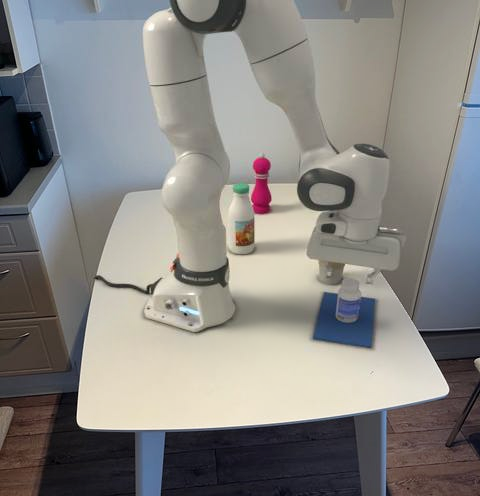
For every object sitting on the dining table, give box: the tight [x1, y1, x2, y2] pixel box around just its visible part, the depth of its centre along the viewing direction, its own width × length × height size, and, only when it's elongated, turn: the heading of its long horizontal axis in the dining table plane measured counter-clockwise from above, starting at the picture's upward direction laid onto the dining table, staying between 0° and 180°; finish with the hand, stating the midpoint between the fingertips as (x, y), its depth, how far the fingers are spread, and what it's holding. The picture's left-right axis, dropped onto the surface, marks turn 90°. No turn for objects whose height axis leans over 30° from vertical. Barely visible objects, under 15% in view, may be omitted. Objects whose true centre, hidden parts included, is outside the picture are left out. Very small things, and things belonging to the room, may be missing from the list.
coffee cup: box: [317, 260, 346, 285], centre depth 130 cm, size 9×9×15 cm
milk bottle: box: [227, 182, 256, 255], centre depth 143 cm, size 8×8×20 cm
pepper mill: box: [250, 152, 272, 215], centre depth 167 cm, size 7×7×20 cm
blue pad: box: [312, 291, 376, 349], centre depth 119 cm, size 13×20×1 cm, turn 165°
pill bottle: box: [336, 277, 362, 323], centre depth 116 cm, size 5×5×10 cm
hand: (348, 279), depth 112 cm, fingers open, 8 cm apart
